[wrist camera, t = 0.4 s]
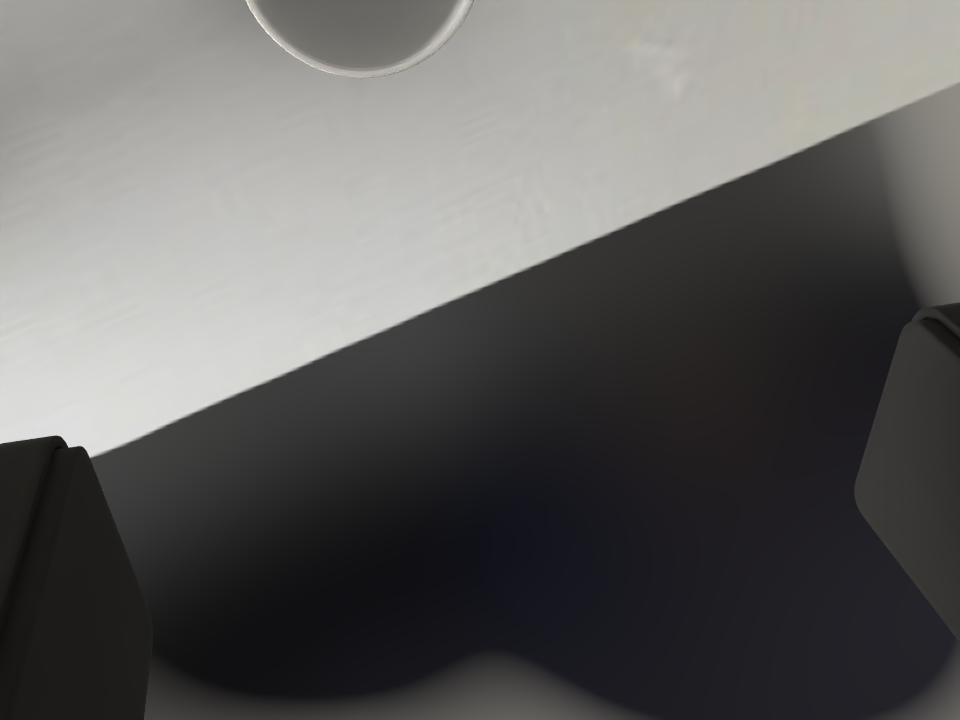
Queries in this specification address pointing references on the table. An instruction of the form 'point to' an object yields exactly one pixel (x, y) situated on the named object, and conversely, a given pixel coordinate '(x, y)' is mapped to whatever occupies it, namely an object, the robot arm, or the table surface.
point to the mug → (360, 31)
